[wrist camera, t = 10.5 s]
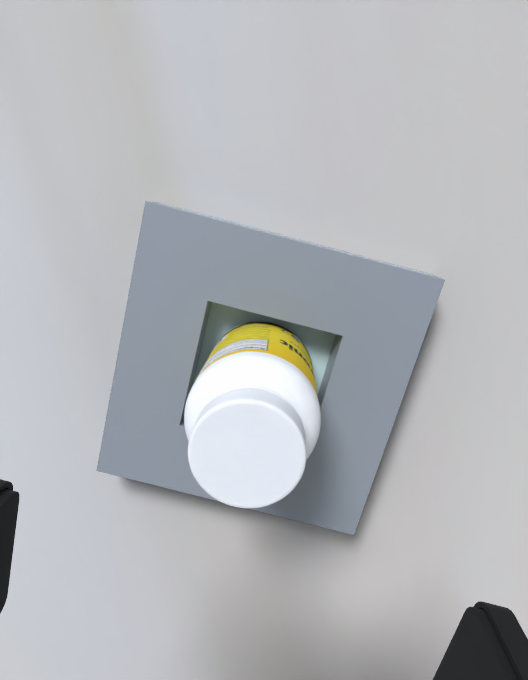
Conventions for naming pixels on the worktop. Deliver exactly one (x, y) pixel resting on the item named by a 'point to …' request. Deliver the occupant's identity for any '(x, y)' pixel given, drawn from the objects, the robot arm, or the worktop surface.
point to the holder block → (274, 306)
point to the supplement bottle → (253, 416)
